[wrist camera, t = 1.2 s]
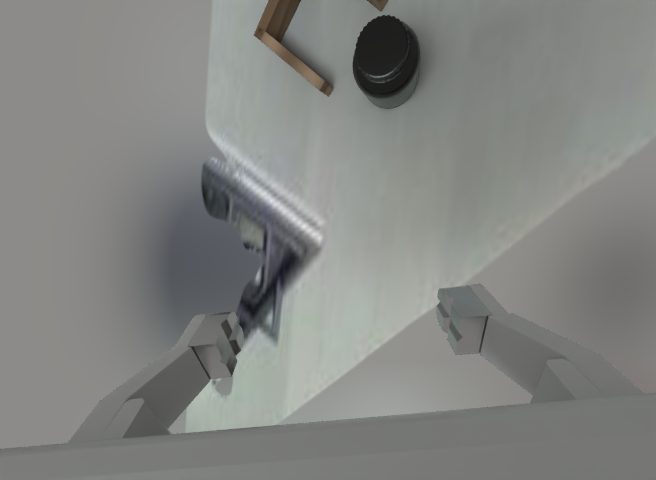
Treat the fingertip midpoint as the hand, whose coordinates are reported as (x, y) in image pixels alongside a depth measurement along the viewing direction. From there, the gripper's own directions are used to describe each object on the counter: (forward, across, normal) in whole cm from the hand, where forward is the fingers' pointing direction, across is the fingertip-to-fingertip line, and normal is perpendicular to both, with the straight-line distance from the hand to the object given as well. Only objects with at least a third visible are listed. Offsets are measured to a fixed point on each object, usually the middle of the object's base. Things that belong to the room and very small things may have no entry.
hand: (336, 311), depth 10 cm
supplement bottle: (+32, -10, -9) cm, 34 cm away
